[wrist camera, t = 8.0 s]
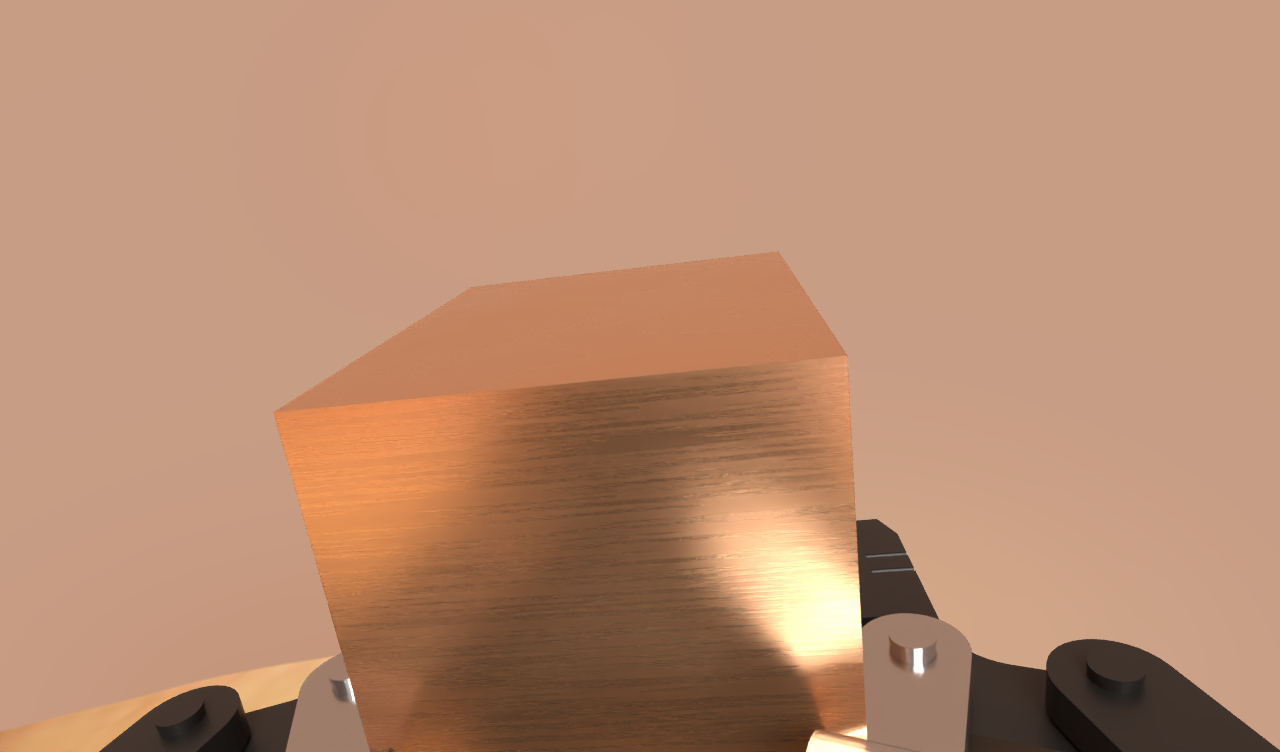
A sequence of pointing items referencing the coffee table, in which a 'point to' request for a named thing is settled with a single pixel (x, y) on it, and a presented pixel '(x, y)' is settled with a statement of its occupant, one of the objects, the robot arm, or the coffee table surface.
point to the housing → (593, 517)
